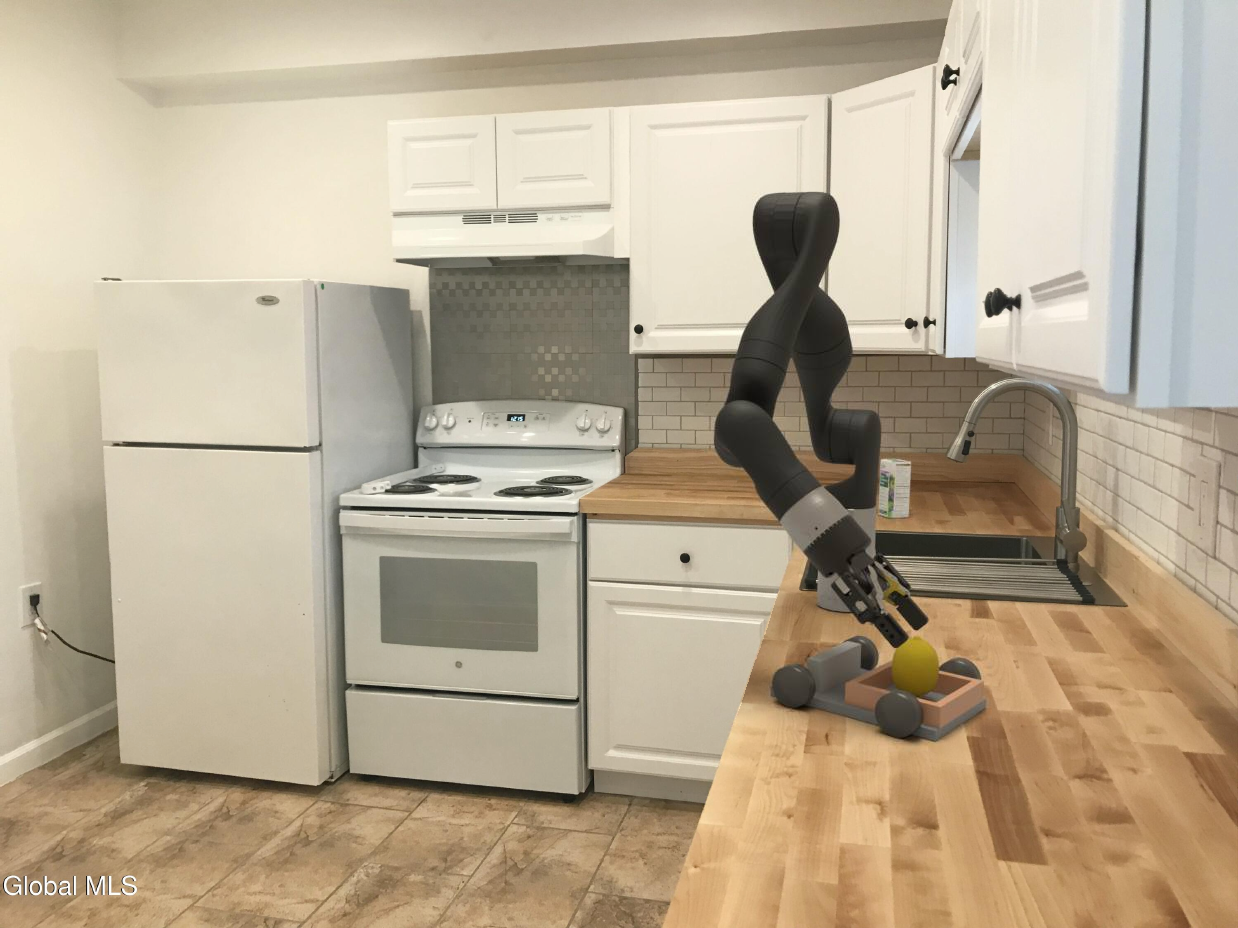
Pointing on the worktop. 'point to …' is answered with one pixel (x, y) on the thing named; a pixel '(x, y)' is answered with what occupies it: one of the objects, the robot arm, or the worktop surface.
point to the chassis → (881, 691)
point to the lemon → (915, 667)
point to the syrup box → (894, 488)
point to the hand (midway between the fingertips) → (913, 634)
